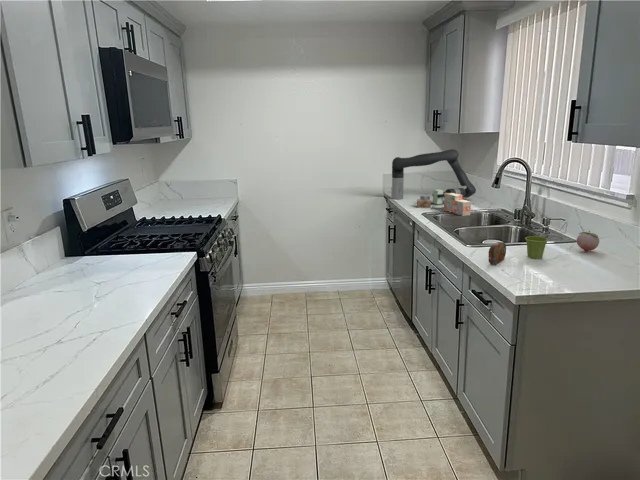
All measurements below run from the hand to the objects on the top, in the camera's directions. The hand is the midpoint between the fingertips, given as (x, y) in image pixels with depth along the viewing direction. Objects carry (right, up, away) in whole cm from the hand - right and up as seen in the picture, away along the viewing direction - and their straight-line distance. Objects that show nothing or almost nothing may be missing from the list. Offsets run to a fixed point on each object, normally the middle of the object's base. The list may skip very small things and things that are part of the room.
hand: (435, 195), depth 326 cm
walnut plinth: (-9, -9, -3) cm, 13 cm away
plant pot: (+12, -41, -126) cm, 133 cm away
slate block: (-6, -5, +9) cm, 12 cm away
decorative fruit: (+40, -39, -120) cm, 132 cm away
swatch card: (-1, -10, -10) cm, 14 cm away
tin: (-7, -43, -131) cm, 138 cm away
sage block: (+2, -5, +3) cm, 7 cm away
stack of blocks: (+8, -15, -26) cm, 31 cm away
